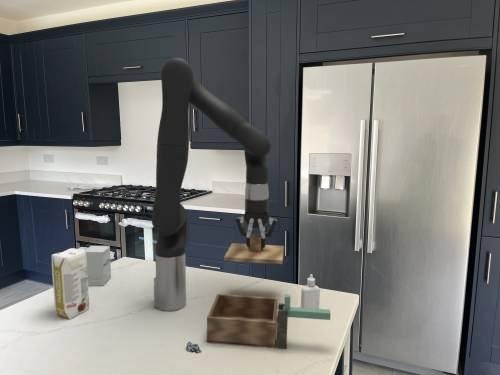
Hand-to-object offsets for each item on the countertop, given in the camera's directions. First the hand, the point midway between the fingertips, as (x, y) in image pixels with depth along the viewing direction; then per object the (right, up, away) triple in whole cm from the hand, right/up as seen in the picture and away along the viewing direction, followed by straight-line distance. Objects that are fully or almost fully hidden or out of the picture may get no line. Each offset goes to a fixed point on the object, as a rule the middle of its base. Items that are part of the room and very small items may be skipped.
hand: (256, 248), depth 120 cm
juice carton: (-56, -18, -9) cm, 60 cm away
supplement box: (-58, -15, +13) cm, 61 cm away
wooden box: (-2, -20, -17) cm, 27 cm away
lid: (0, -2, -1) cm, 2 cm away
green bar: (+13, -13, -25) cm, 31 cm away
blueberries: (-16, -22, -26) cm, 37 cm away
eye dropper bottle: (+17, -19, -5) cm, 26 cm away
